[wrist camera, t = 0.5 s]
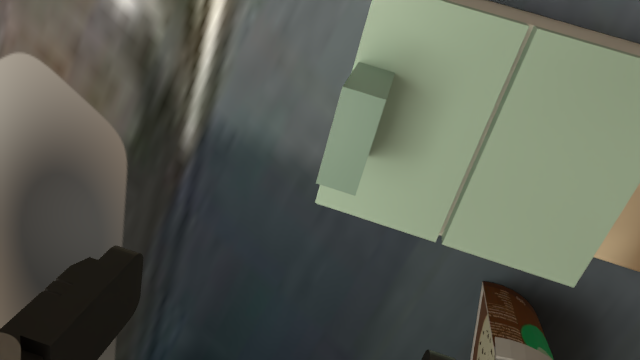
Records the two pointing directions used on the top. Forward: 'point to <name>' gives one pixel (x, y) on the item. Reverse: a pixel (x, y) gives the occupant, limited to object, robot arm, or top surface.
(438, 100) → the lid piece
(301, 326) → the top surface
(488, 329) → the food container
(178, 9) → the top surface
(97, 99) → the top surface
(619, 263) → the cork mat
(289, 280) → the top surface
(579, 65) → the parts tub
